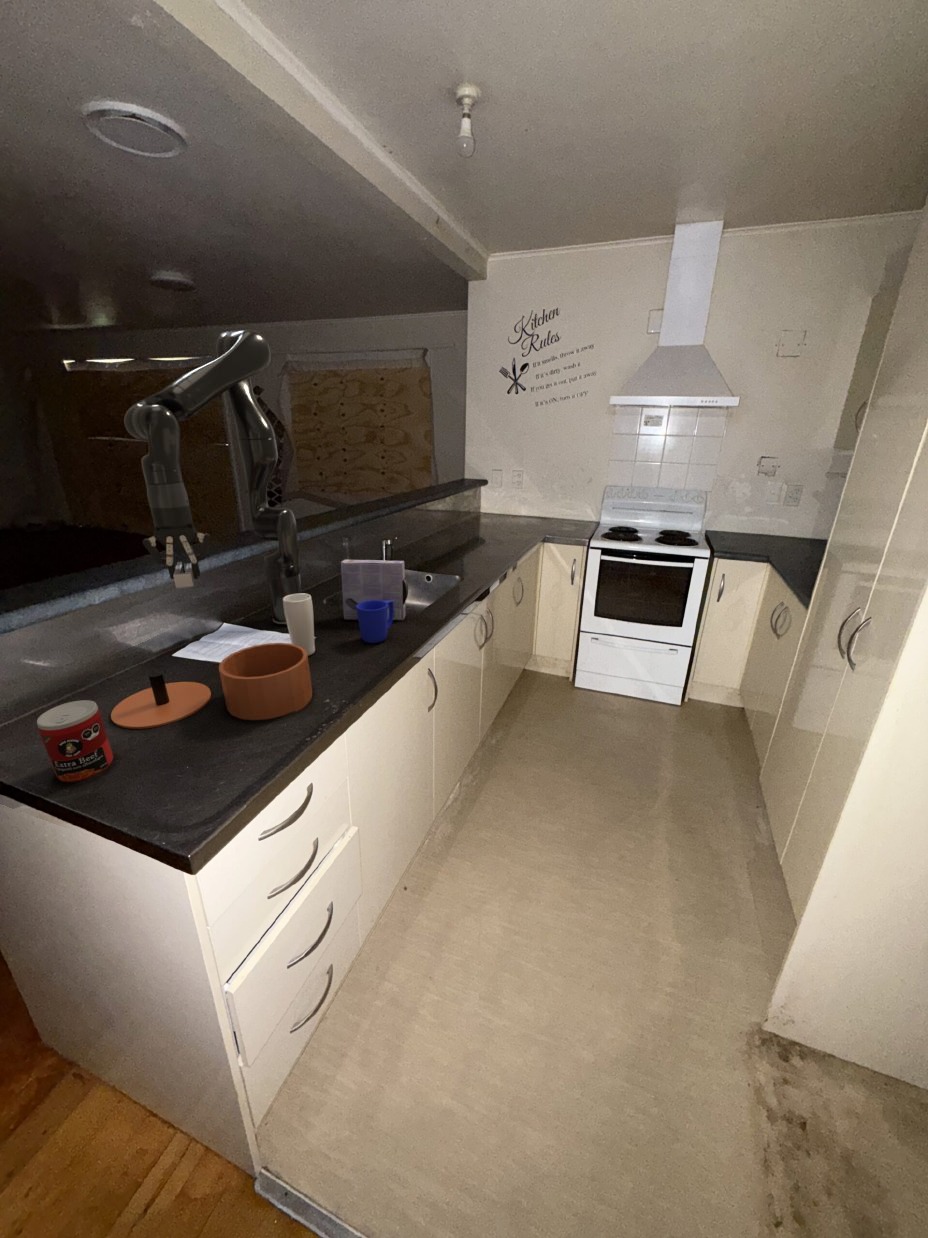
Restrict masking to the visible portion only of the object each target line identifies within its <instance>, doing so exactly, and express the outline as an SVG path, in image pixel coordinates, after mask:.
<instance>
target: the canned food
mask: <svg viewBox="0 0 928 1238" xmlns="http://www.w3.org/2000/svg"><path fill="white" fill-rule="evenodd" d="M36 725H37V729H38V731H39V735H40V738H41V740H42V742H43V745H44V748H45V750H46V752H47V755H48V758H49V760H50V763H51V766H52V769H53V771H54V773H55V776H56V778H57V779H58V781H60V782H62V783H63V782H64V783H76V782H81V781H85V780H87V779H90V778H93V777H95V776H97V775H99V774H100V773H102V772H104V771H105V770H106V769H108V767H110V765H111V764H112V763H113V760H114V754H113V751H112V748H111V744H110V742H109V738H108V734H107V731H106V728H105V725H104V721H103V719H102V715H101V712H100V709H99V706H98V704H97V703H96V702H95V701H94V700H90V699H84V700H83V699H81V700H73V701H70V702H65V703H62V704H59V705H57V706H55V707H52V708H50V709H48V710H46V711H45V712H43V713H42V714H41V715H39V717H38V718H37V720H36Z"/></svg>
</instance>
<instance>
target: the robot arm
mask: <svg viewBox="0 0 928 1238" xmlns="http://www.w3.org/2000/svg"><path fill="white" fill-rule="evenodd" d="M215 347H216V355H217V356H216V357H217V358H216V359H214V360H212V361H210V362H208V363H205V364H203V365H200V366H198V367H196V368H194V369H192V370H189V371H187V372H186V373H184V374H183V375H181V376H179V377H178V378H176V379H175V380H174V381H173V382H171V383H170V384H168V385H167V386H166V387H165V388H164V389H162V390H160V391H158V392H156V393H154V394H152V395H150V396H147V397H146V398H143V399H142V400H139V401H138V402H136V403H134V404H133V405H132V406H130V407H129V408H128V410H127V411H126V412H125V414H124V418H123V423H124V427H125V429H126V431H127V433H128V434H129V435H131V436H132V438H134V439H136V440H138V441H143V442H147V443H148V453H147V454H145V455H143V456H142V458H141V459H140V461H141V468H142V469H141V470H142V472H143V477H144V481H145V486H146V495H147V502H148V505H149V509H150V513H151V517H152V521H153V522H152V523H153V525H154V533H153V535H152V536H149V537H146V538H144V539H143V540H142V542H141V543H142V545H143V546H144V548H145V549H146V550H147V552H148V553H149V554H150V555H151V557H152V558H153V559H154V561H155V562H156V564H157V565H164V566H166V567H167V570H168V575H169V578H170V579H171V580H174V577H173V575H174V572H175V569H176V563H175V562H174V555H175V554H174V552H175V551H178V550H180V551H185V553H186V554H187V556H188V558H189V561H191V567H192V571H193V576H194V579H195V580H198V579H199V577H200V576H201V570H200V566H199V562H201V561H204V560H205V559H206V557H207V553H208V548H209V544H210V540H211V535H210V533H207V532H206V533H205V532H204V533H203V532H199V531H198V530H197V529H196V527H195V525H194V521H193V517H192V512H191V511H192V510H191V506H190V501H189V497H188V493H187V492H188V491H187V489H186V486H185V483H184V480H183V479H184V478H183V474H182V470H181V465H180V457H181V428H180V427H181V426H180V425H179V422H182V421H188V420H189V419H192V418H193V417H194V416H195V415H197V414H198V413H200V412H201V411H202V410H203V409H204V408H205V407H207V406H208V405H209V404H211V403H212V402H213V401H214V400H216V399H217V398H218V397H219V396H221V395H223V394H224V393H225V392H227V395H228V399H229V403H230V408H231V412H232V416H233V421H234V425H235V431H236V438H237V444H238V449H239V454H240V458H241V463H242V468H243V472H244V478H245V483H246V490H247V500H248V501H247V502H248V509H249V511H248V512H249V519H250V525H251V526H250V527H251V529H252V532H253V534H254V536H255V537H256V539H257V540H260V541H265V542H266V541H269V542H278V548H277V549H276V550H274V551H270V552H268V553H266V554H265V555H263V564H264V570H265V578H266V583H267V587H268V589H267V591H268V596H269V601H270V608H271V615H272V623H273V624H274V625H277V626H287V622H286V618H285V613H284V607H283V598H284V597H285V596H288V595H291V594H297V593H303V586H302V578H301V572H300V564H299V563H300V562H299V538H298V526H297V519H296V516H295V514H294V512H293V510H292V509H291V508H289V507H277V506H269V501H268V488H269V484H270V480H271V478H272V476H273V474H274V472H275V469H276V466H277V464H278V461H279V460H278V459H279V451H278V445H277V439H276V433H275V429H274V427H273V425H272V423H271V421H270V419H269V418H268V416H267V415H266V413H265V412H264V410H263V409H262V407H261V406H260V403H259V402H258V400H257V397H256V395H255V393H254V389H253V384H252V379H251V377H252V376H255V375H257V374H259V373H261V372H263V371H265V370H266V369H267V368H268V367H269V364H270V363H271V354H272V351H271V348H270V345H269V342H268V341H267V339H266V338H265V337H264V335H262V334H261V333H260V332H258V331H256V330H253V329H238V330H229V331H227V330H226V331H223V332H221V333H220V334H219V335H218V337H217V339H216V345H215ZM196 538H198V541H199V543H201V547H200V551H199V553H198V554H196V552H195V549H194V548H193V546H192V545H193V544H194V542H195V541H196ZM156 541H157V542H159V543H160V544H161V545H162V546H163V547H164V548H165V550H166V552H165V554H166V555H165V556H166V557H163V555H162V554H161V553H160V551H159V549H158V548H157V547H156V546H157V542H156Z"/></svg>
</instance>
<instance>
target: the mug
mask: <svg viewBox="0 0 928 1238" xmlns="http://www.w3.org/2000/svg"><path fill="white" fill-rule="evenodd" d="M388 604H389V620H388ZM356 609H357V615H358V624H359V625H358V626H359V631H360V637H361V639H362V641H363V642H365V643H368V644H378V643H381V642H384V641H385V640H386V639H387V637H388V629H390V627H391V626H393V625H392V624H393V621H394V620H393V610H394V603H393V601H392V600H387V601H381V600H368V601H363V602H360V603H358V604H357V605H356Z"/></svg>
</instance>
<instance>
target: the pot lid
mask: <svg viewBox="0 0 928 1238" xmlns="http://www.w3.org/2000/svg"><path fill="white" fill-rule="evenodd" d="M148 679H149V684H150V687H148V688H145V689H142V690H140V691H138V692H135V693H133V694H132V695H129V696H128V697H126V698H124V699H123V700H121V701H119V703H117V705H115V706H114V708H113V709H112V710H111V713H110V719H111V721H112V723H113V724H114V725H116V727H119V728H123V729H128V730H145V729H152V728H158V727H163V726H166V725H170V724H173V723H176V722H179V721H181V720H183V719H186V718H188V717H191V716H192V715H194V714H196V713H197V712H199V711H200V710H202V709H203V708H204V707H205V706H206V705H207V704H208V703H209V701H210V700H211V698H212V692H211V689H210V688H209V687H208V686H207V685H205V684H203V683H200V682H195V681H177V682H169V683H166V681H165V677H164V674H163V672H162V671H153V672H150V673H149V674H148Z"/></svg>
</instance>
